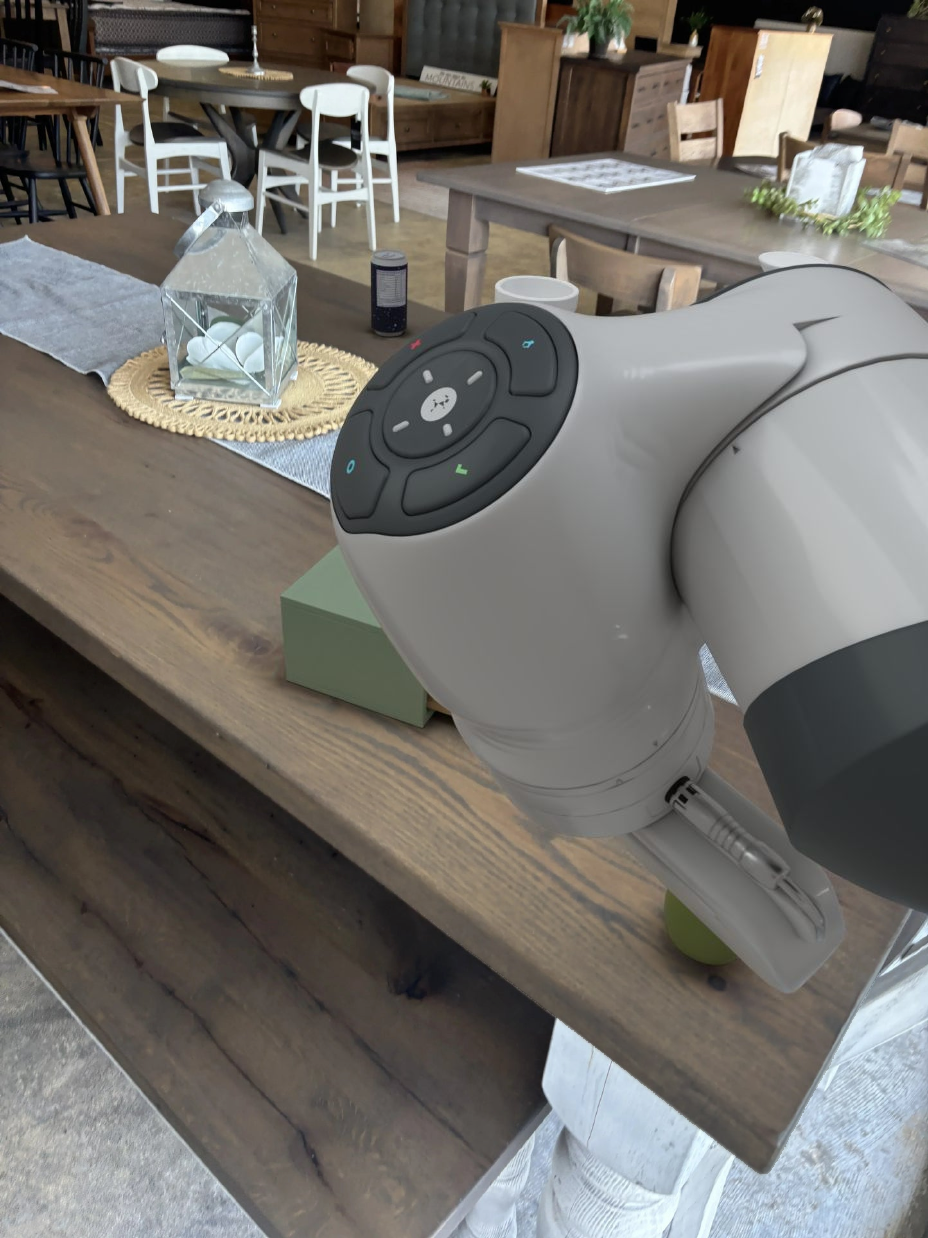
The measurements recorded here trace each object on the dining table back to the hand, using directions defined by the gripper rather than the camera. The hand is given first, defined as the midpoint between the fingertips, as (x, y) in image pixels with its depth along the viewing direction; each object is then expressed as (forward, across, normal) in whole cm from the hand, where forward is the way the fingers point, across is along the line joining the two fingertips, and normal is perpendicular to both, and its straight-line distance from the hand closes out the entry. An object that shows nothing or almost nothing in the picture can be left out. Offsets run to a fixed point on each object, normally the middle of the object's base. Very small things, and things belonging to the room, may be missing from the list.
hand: (652, 840), depth 45 cm
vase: (+43, +41, -46) cm, 75 cm away
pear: (+15, -1, 0) cm, 16 cm away
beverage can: (+40, +104, -37) cm, 117 cm away
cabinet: (+15, +32, +2) cm, 36 cm away
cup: (+41, +74, -41) cm, 94 cm away
